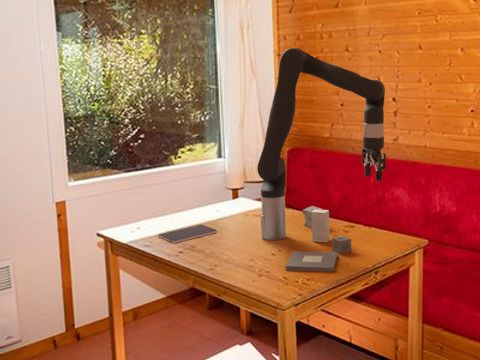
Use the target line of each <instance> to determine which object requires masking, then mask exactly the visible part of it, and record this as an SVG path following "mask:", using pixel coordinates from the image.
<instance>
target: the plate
mask: <svg viewBox="0 0 480 360" xmlns="http://www.w3.org/2000/svg"><path fill="white" fill-rule="evenodd" d="M338 257H339V256H338V252H334V251H301V250H293V251H292V253H291V255H290V256H289V259H288V261H287V263H286V265H285V271H291V272H292V271H293V272H294V271H295V272H296V271H298V272H320V273H321V272H323V273H325V272H326V273H328V272H329V273H334V271H335V268H336V265H337V260H338Z"/></svg>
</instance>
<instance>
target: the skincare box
mask: <svg viewBox="0 0 480 360" xmlns="http://www.w3.org/2000/svg"><path fill="white" fill-rule="evenodd" d="M311 218H312V227H311V240H312V242H314V243H315V242H316V243H317V242H318V243H328V242H329V241H330V240H331V237H330V210H329V209H323V210H313V211H312V212H311Z"/></svg>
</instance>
